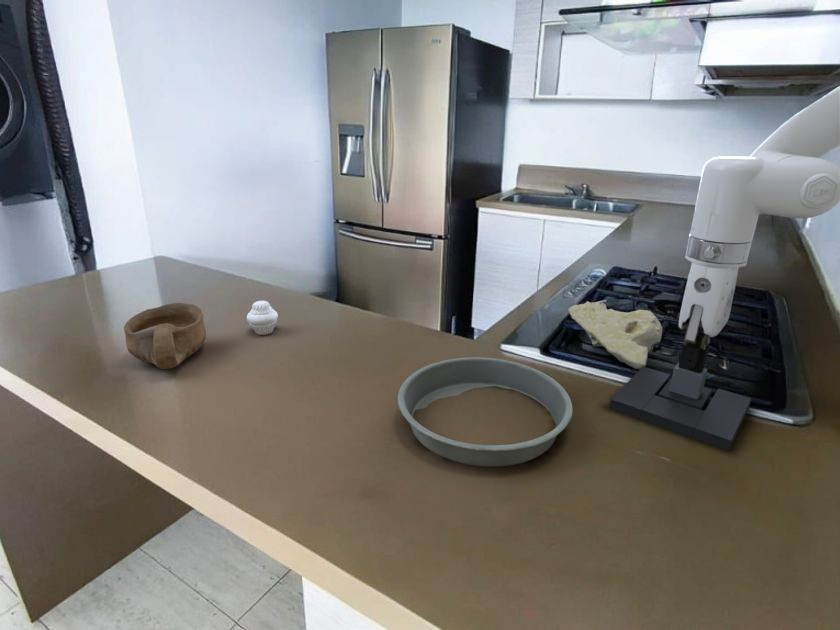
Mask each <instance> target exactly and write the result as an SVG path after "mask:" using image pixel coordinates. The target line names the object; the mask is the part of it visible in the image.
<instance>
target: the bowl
mask: <svg viewBox="0 0 840 630" xmlns="http://www.w3.org/2000/svg"><path fill="white" fill-rule="evenodd" d="M123 331H124V335H125V345H126V349H127V351H128V353H130V355H132V356H133V357H134V358H136V359H137V360H140V361H142V362H145V363H148V364H154V365H155V366H156V367H157V368H158V369H161V370H170V369H173V368H176V367H177V366H179V365H180V364H182V362H183V361H185V360H186V359H187V358H189V357H191V356H192V355H193V354H194V353H196V352H197V351H198V350H199V349H200V348H201V347H202V346H203V345H204V343H205V341H206V338H207V330H206V325H205V321H204V313H203V311H202V309H201V308H200V307H199V306H197V305H195V304H189V303H185V302H173V303H166V304H163V305H160V306H158V307H157V306H156V307H153V308H152V307H151V308H147V309H145V310H143V311H141V312H139V313H137V314H135V315H133V316H132V317H130V318H129V319H128V320H127V321H126V323H125V324H124V326H123Z"/></svg>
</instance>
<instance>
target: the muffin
mask: <svg viewBox="0 0 840 630" xmlns="http://www.w3.org/2000/svg"><path fill="white" fill-rule="evenodd" d="M278 317H279V314H278V312H277V311H276V310H275V309H274V308H273V307H272V306H271V303H270V302H269V301H267V300H257V301H255V302H253V304H252V305H251V309H250V311H249V312H248V313H247V315H246V321H247V323H248V324H249V327H251V329H252V330H253V331H254V332H255V334H256V335H259V336H266V335H267V336H268V335H270V334H272V333H273V332H274V328H275V327H276V325H277V321H278Z"/></svg>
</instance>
